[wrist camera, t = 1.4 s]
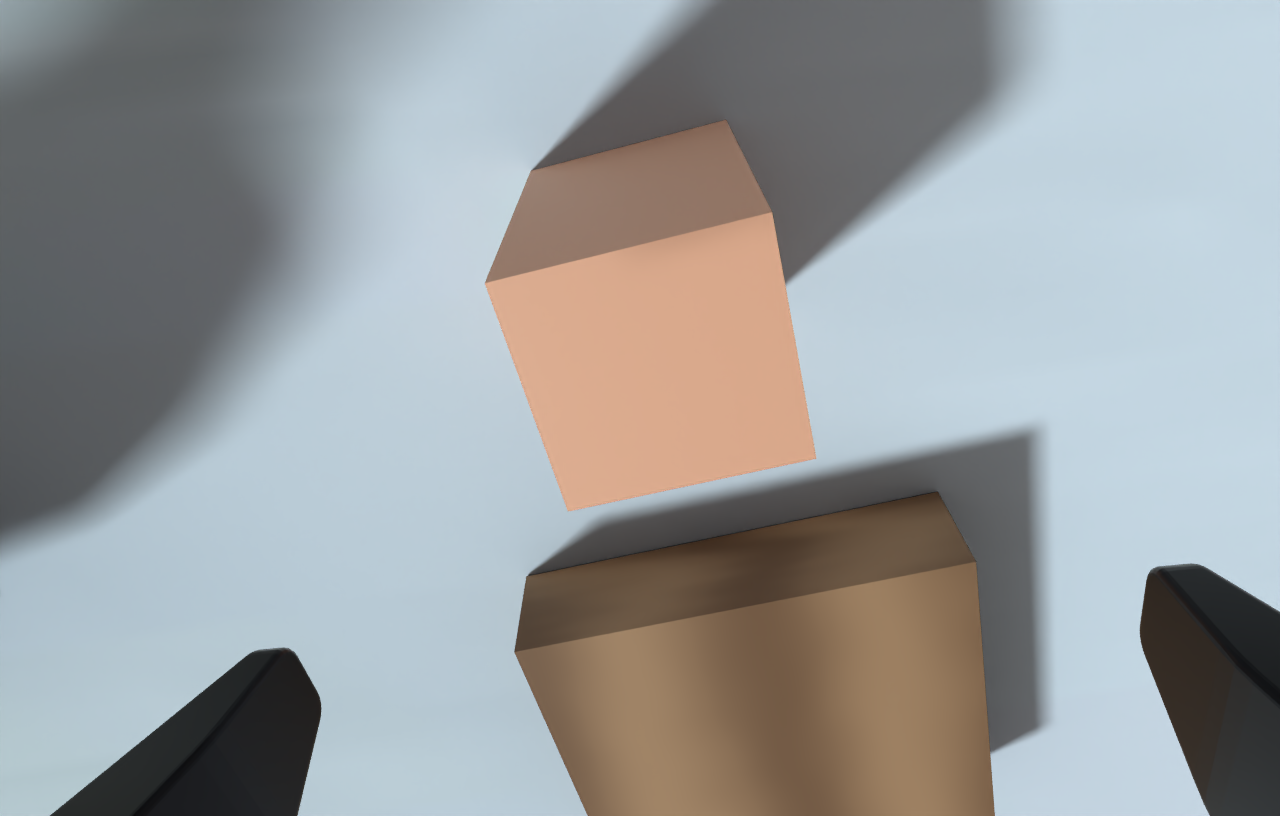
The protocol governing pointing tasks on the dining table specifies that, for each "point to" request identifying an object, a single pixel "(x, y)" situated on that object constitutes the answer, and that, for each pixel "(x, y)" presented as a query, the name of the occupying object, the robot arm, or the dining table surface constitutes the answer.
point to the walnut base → (771, 671)
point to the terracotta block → (651, 319)
